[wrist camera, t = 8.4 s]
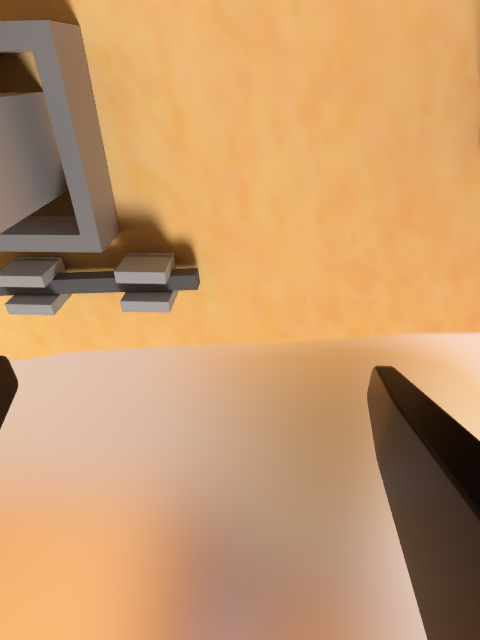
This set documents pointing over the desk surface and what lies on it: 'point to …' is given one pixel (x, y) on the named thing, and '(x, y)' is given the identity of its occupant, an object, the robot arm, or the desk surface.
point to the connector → (27, 157)
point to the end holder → (65, 142)
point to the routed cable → (95, 283)
